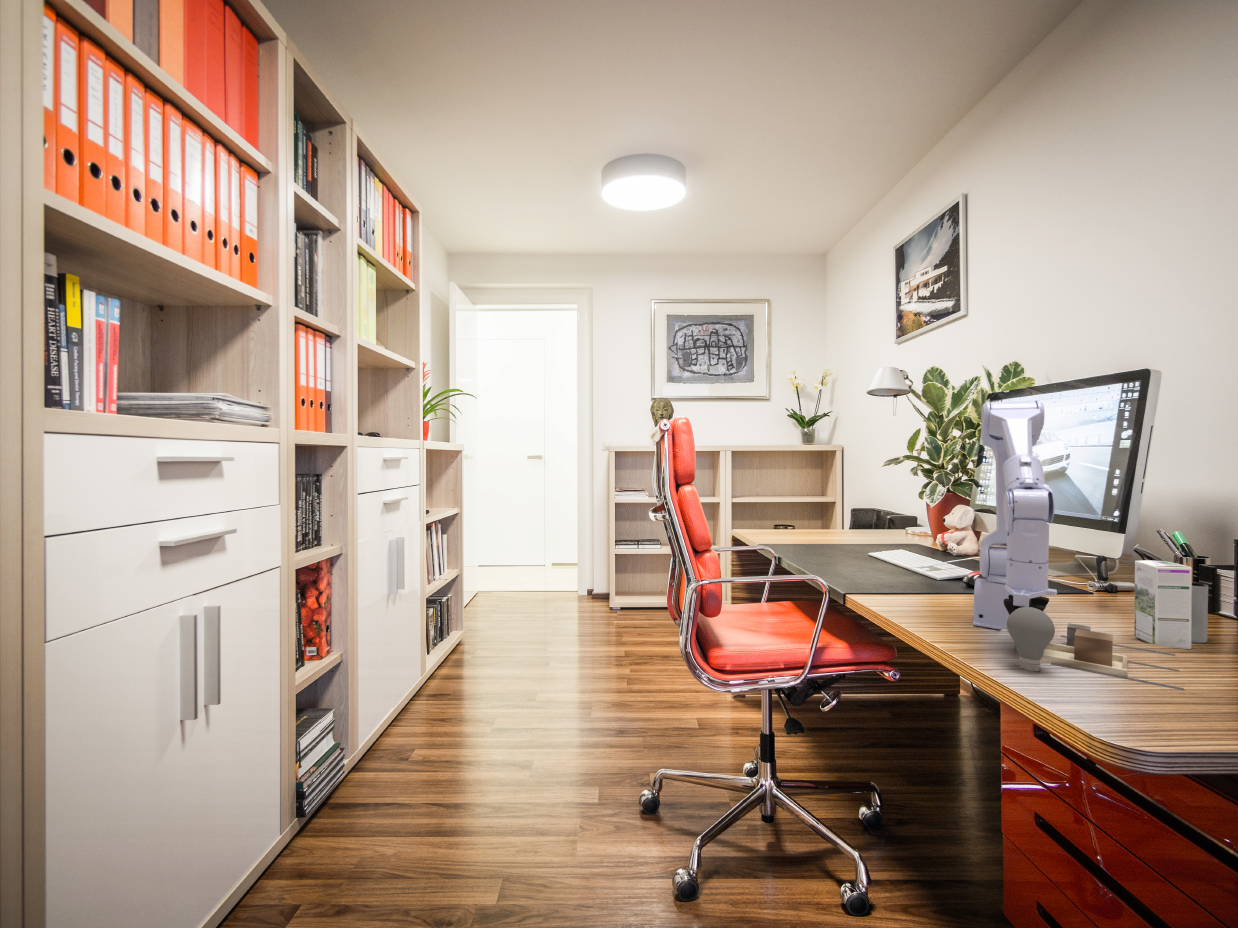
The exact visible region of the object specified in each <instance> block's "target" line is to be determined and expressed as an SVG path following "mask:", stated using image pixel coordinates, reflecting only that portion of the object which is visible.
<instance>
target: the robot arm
mask: <svg viewBox="0 0 1238 928" xmlns="http://www.w3.org/2000/svg"><path fill="white" fill-rule="evenodd" d="M1044 425H1045V406H1044V403H1043V402H1042V401H1040V400H1039V399H1038V400H1037V399H1036V400H1032V401H1031V400H1029V401H997V402H996V401H995V402H994V401H993V402H990V401H985V402H984V403H983V404H982V406H981V413H980V426H981V440H982V445H983V446H985V447H987V448H989V449H991V450H992V454H993V456H994V462H995V502H996V503H995V504H996V505H995V509H996V510H995V513H996V519H995V520H996V522H995V523H996V529H995V530H994V531H992V532H990V533H988V534H987V535H985V536H983V537H982V540H981V541H980V549H979V563H978V564H979V573H980V575H981V576H982V577H983V578H979V577H978V578H976V579H975V581H974V589H973V622H972V625H973V626H977V627H981V628H988V629H993V630H999V631H1002V629H1003V628H1006V629H1007V619H1008V617H1009V616H1010V614H1011V613H1012V612H1013V611H1015V610H1016V609H1018V608H1022V607H1033V608H1036V609H1039V610H1041V611H1043V612H1044V611H1045V609H1046V608H1047V605H1048V603H1049V602H1050V598H1049V597H1046V596H1057V594H1058V590H1057V589H1056V588H1049V557H1050V555H1049V554H1050V553H1049V550H1050V549H1049V547H1050V546H1049V545H1050V525H1051V524H1052V523H1053V521H1054V518H1055V512H1056V511H1055V508H1056V507H1055V506H1056V505H1055V503H1056V502H1055V496H1054V492H1053V489H1052V488H1051V487H1050V485H1049V484H1046V480H1045V473H1044V469H1043V463H1042V462H1041V460H1040V459H1039V458H1037V457H1036V456H1033V447H1034V446H1036V445H1037V443H1038V440H1040V436H1041V433H1042V430H1043V428H1044Z"/></svg>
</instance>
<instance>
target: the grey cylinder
mask: <svg viewBox="0 0 1238 928" xmlns="http://www.w3.org/2000/svg"><path fill="white" fill-rule="evenodd" d="M1208 604H1209V584H1206V583H1201V582H1198V581H1197V582H1196V581H1192V597H1191V643H1195V644H1196V643H1197V644H1205V643H1207V642H1208V617H1209V616H1208V614H1209V612H1208V611H1209V607H1208V606H1209V605H1208Z"/></svg>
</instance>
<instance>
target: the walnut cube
mask: <svg viewBox="0 0 1238 928" xmlns="http://www.w3.org/2000/svg"><path fill="white" fill-rule="evenodd" d="M1113 635H1114V634H1113V633H1111V634H1110V633H1105V632H1099V631H1093V630H1090V631H1087V630H1081V629H1076V632H1075V642H1074V660H1078V661H1083V662H1088V663H1094V664H1099V665H1105V666H1110V667H1112V654H1113V647H1114V646H1113V644H1114V643H1113V638H1114V636H1113Z"/></svg>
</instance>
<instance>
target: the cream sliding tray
mask: <svg viewBox="0 0 1238 928" xmlns="http://www.w3.org/2000/svg"><path fill="white" fill-rule="evenodd" d="M1014 646H1015V647H1014V649H1015V650H1014V651H1015V652H1016V653H1018V652H1017V647H1016V644H1015V643H1014ZM1015 652H1014V653H1015ZM1127 661H1128V656H1127V655H1123V654H1122V655H1121V654H1118V653H1112V667H1110V666H1105V665H1099V664H1094V663H1088V662H1083V661H1078V660H1074V647H1072V646H1067V644H1060V643H1054V642H1050V643H1049V644H1048V645H1047V647H1046V648H1045V649H1044V652H1043V656H1042V658H1041V660H1040V662H1044V663H1049V664H1051V663H1056V664H1061V665H1066V666H1071V667H1076V668H1082V669H1087V670H1092V671H1097V672H1102V673H1107V674H1113V675H1118V676H1123V677H1128V662H1127Z"/></svg>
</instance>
